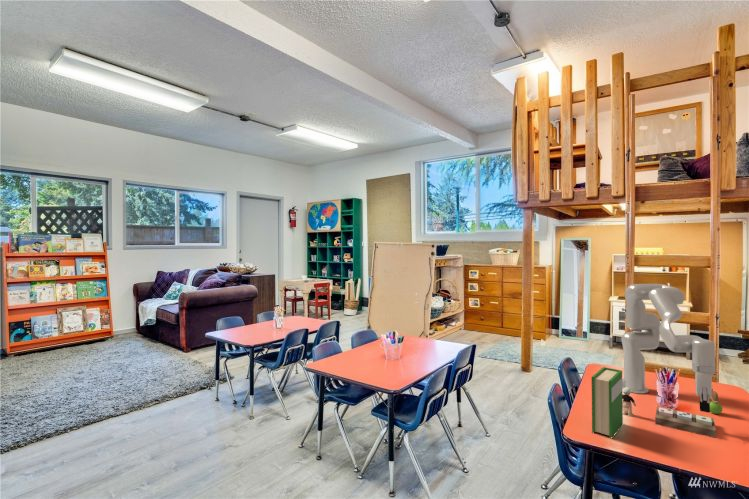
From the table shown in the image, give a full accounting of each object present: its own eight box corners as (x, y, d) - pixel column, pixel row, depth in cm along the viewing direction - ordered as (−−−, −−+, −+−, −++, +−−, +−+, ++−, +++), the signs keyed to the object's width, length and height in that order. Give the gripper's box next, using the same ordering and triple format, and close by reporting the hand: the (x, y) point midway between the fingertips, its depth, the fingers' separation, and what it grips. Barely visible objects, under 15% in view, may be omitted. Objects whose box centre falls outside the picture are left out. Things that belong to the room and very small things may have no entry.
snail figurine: (717, 410, 180) (717, 385, 180) (725, 416, 174) (724, 390, 174) (703, 409, 182) (703, 384, 181) (710, 415, 176) (710, 389, 175)
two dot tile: (658, 416, 171) (658, 410, 170) (659, 412, 174) (659, 406, 174) (672, 419, 167) (672, 413, 167) (672, 415, 171) (672, 409, 171)
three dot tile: (677, 420, 166) (677, 414, 166) (677, 416, 170) (677, 410, 170) (691, 423, 163) (691, 417, 163) (691, 419, 167) (691, 413, 167)
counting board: (655, 424, 168) (655, 417, 168) (656, 412, 179) (656, 406, 179) (715, 437, 155) (715, 430, 155) (713, 425, 166) (713, 418, 166)
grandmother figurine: (637, 415, 177) (637, 388, 176) (635, 418, 174) (635, 390, 174) (618, 410, 182) (617, 384, 182) (616, 413, 179) (616, 386, 179)
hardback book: (612, 438, 156) (611, 381, 156) (592, 432, 161) (591, 376, 161) (622, 424, 168) (622, 370, 168) (603, 418, 173) (603, 367, 173)
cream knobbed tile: (696, 424, 162) (696, 418, 162) (696, 420, 166) (695, 414, 166) (711, 428, 159) (711, 421, 159) (711, 423, 163) (711, 417, 163)
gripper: (691, 362, 170) (692, 403, 170) (692, 371, 159) (693, 414, 159) (714, 365, 166) (715, 407, 165) (716, 374, 154) (717, 419, 154)
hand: (704, 411), depth 162 cm, fingers closed
